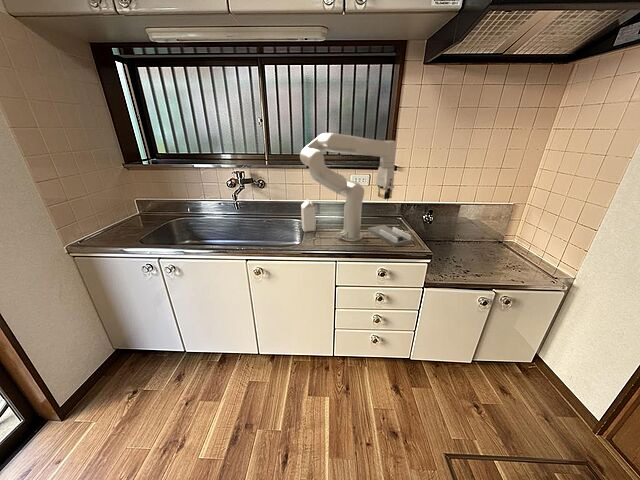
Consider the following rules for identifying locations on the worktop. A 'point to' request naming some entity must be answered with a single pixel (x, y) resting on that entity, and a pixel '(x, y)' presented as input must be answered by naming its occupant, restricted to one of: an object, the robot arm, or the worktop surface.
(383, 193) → the maple block
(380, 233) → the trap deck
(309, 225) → the milk carton
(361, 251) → the worktop surface
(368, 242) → the worktop surface
